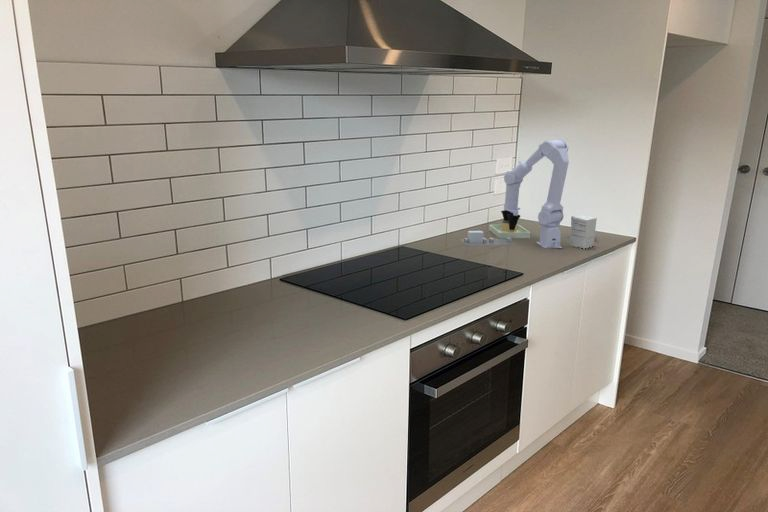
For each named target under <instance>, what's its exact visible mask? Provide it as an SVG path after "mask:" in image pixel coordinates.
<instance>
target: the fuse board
mask: <svg viewBox="0 0 768 512" xmlns="http://www.w3.org/2000/svg"><path fill="white" fill-rule="evenodd" d="M459 240H460V241H461V243H462V244H463V245H464V246H517V244H516V243H515V242H514V241H512V240H513V238H510V237H507V238H493V237H488V238H486V237H483V243H469V239H468V237H463V238H459Z"/></svg>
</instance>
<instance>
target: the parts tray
mask: <svg viewBox="0 0 768 512" xmlns="http://www.w3.org/2000/svg"><path fill="white" fill-rule="evenodd" d="M488 227H489V228H488V232H491V233H492V234H493V235H494V236H496V238H497V239H507V237H510V238H511V239H531V234H532V232H531V231H529V230H528V229H526V228H524V227H523V226H521V225H520V224H517V232H507V231H502V224H489V226H488Z"/></svg>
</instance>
